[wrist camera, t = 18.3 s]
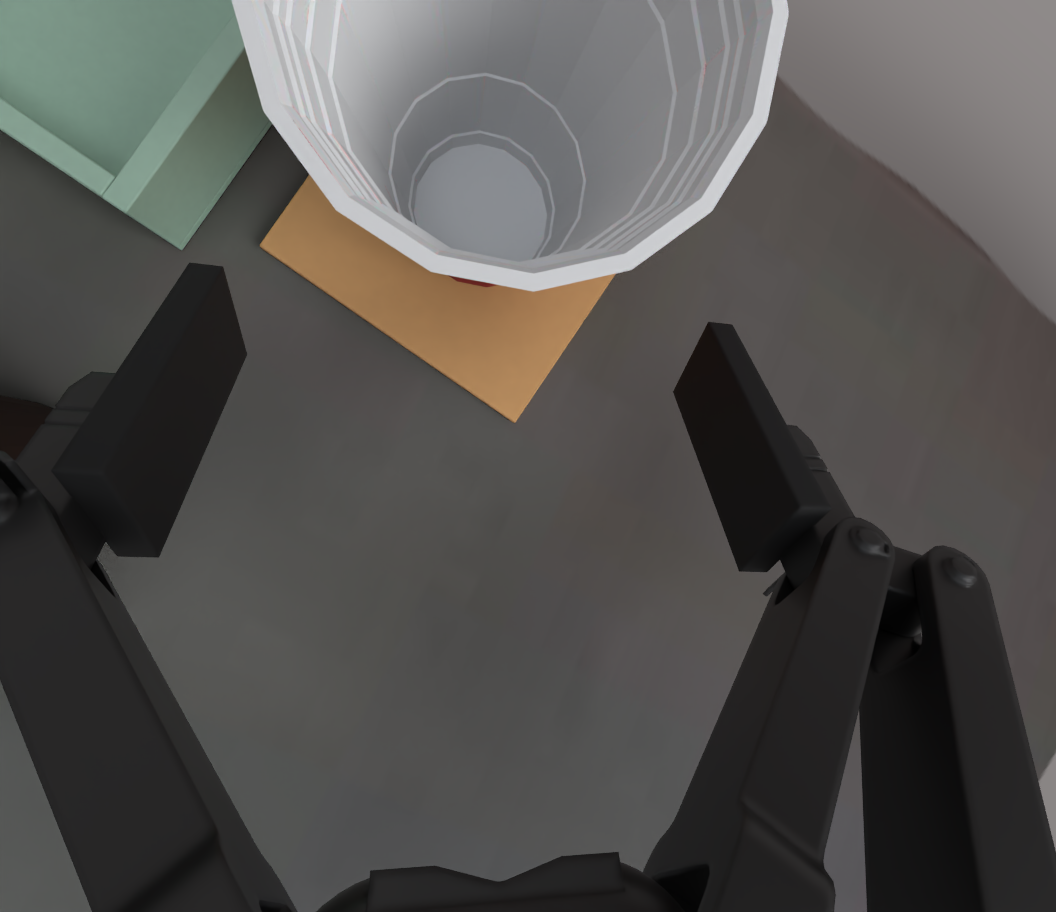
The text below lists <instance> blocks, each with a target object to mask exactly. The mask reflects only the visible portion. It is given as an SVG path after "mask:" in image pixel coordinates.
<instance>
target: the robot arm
mask: <svg viewBox="0 0 1056 912" xmlns="http://www.w3.org/2000/svg"><path fill="white" fill-rule="evenodd" d="M246 356H247V352H246V349H245V345H244V341H243V338H242V334H241V330H240V327H239V323H238V320H237V316H236V312H235V309H234V305H233V301H232V298H231V294H230V290H229V287H228V283H227V279H226V276H225V272H224V268H223V267H222V266H213V265H204V264H196V263H189V264H188V266H187V267H186V269H185V270H184V272H183V273H182V275H181V276H180V278H179V279H178V281H177V282H176V284H175V285H174V287H173V288H172V290H171V291H170V293H169V294H168V296H167V297H166V299H165V300H164V302H163V303H162V305H161V306H160V308H159V309H158V311H157V312H156V314H155V315H154V317H153V318H152V320H151V321H150V323H149V324H148V326H147V327H146V329H145V330H144V332H143V333H142V335H141V336H140V338H139V339H138V341H137V342H136V344H135V345H134V347H133V348H132V350H131V351H130V353H129V354H128V356H127V357H126V359H125V360H124V362H123V363H122V365H121V366H120V368H119V369H118V371H117V372H116V373H104V372H90V373H89V374H87V375H86V376H85V377H83V378H82V379H80V380H79V381H77V382H76V383H74V384H73V385H71V386H70V387H69V388H68V389H67V390H66V392H65V393H64V394H63V396H62V397H61V398H60V400H59V401H58V403H57V404H56V405H55V406H56V409H52V411H51V412H50V413H49V415H48V416H47V417H46V419H45V420H44V421H45V424H41V426H40V427H39V428H38V430H37V431H36V432H35V434H34V435H33V437H32V438H31V439H30V441H29V442H28V443H27V445H26V446H25V447H24V449H23V450H22V451H21V453H20V454H19V456H18V457H17V458H16V460H15V461H14V460H13V459H12V458H11V457H10V456H9V455H8V454H7V453H6V452H4V451H0V680H1V683H2V685H3V688H4V690H5V693H6V696H7V698H8V701H9V703H10V706H11V708H12V711H13V713H14V716H15V718H16V721H17V723H18V726H19V728H20V731H21V733H22V736H23V738H24V741H25V743H26V746H27V748H28V751H29V754H30V756H31V759H32V761H33V764H34V766H35V769H36V771H37V774H38V776H39V779H40V781H41V784H42V786H43V789H44V791H45V794H46V796H47V799H48V801H49V804H50V806H51V809H52V811H53V814H54V817H55V819H56V822H57V824H58V827H59V829H60V832H61V834H62V837H63V839H64V842H65V844H66V847H67V849H68V852H69V854H70V857H71V859H72V862H73V864H74V867H75V869H76V872H77V875H78V877H79V880H80V882H81V885H82V887H83V890H84V892H85V895H86V897H87V900H88V902H89V905H90V907H91V910H92V912H297V910H296V908H295V907H294V905H293V903H292V901H291V899H290V898H289V896H288V894H287V892H286V890H285V889H284V887H283V885H282V883H281V882H280V880H279V878H278V877H277V875H276V874H275V872H274V871H273V869H272V867H271V866H270V865H269V863H268V862H267V861H266V859H265V858H264V857H263V855H262V854H261V852H260V851H259V849H258V848H257V846H256V844H255V842H254V841H253V839H252V837H251V835H250V833H249V832H248V830H247V828H246V826H245V824H244V823H243V821H242V819H241V817H240V815H239V813H238V812H237V810H236V808H235V806H234V804H233V803H232V801H231V799H230V797H229V795H228V793H227V792H226V790H225V788H224V786H223V784H222V783H221V781H220V779H219V777H218V775H217V773H216V772H215V770H214V768H213V766H212V764H211V763H210V761H209V759H208V757H207V755H206V753H205V752H204V750H203V748H202V746H201V744H200V743H199V741H198V739H197V737H196V735H195V733H194V732H193V730H192V728H191V726H190V724H189V722H188V721H187V719H186V717H185V715H184V713H183V712H182V710H181V708H180V706H179V704H178V702H177V701H176V699H175V697H174V695H173V693H172V692H171V690H170V688H169V686H168V684H167V682H166V681H165V679H164V677H163V675H162V673H161V672H160V670H159V668H158V666H157V664H156V662H155V661H154V659H153V657H152V655H151V653H150V652H149V650H148V648H147V646H146V644H145V642H144V641H143V639H142V637H141V635H140V633H139V632H138V630H137V628H136V626H135V624H134V622H133V621H132V619H131V617H130V615H129V613H128V612H127V610H126V608H125V606H124V604H123V602H122V601H121V599H120V597H119V595H118V593H117V592H116V590H115V588H114V586H113V584H112V582H111V581H110V579H109V577H108V575H107V573H106V571H105V570H104V568H103V566H102V565H101V563H100V562H99V561H98V560H97V557H98V555H99V553H100V551H101V549H102V547H103V545H104V543H105V542H107V544H108V545H109V546H110V548H111V549H112V550H113V551H114V553H115V554H116V555H117V556H126V557H159V556H160V553H161V551H162V549H163V546H164V544H165V542H166V540H167V537H168V535H169V533H170V530H171V528H172V526H173V523H174V521H175V519H176V517H177V514H178V512H179V510H180V507H181V505H182V503H183V500H184V498H185V496H186V494H187V491H188V489H189V487H190V484H191V482H192V480H193V478H194V475H195V473H196V471H197V468H198V466H199V464H200V461H201V459H202V457H203V455H204V452H205V450H206V448H207V445H208V443H209V441H210V438H211V436H212V434H213V432H214V429H215V427H216V425H217V422H218V420H219V418H220V415H221V413H222V411H223V409H224V406H225V404H226V402H227V399H228V397H229V395H230V392H231V390H232V388H233V386H234V383H235V381H236V379H237V376H238V374H239V372H240V369H241V367H242V365H243V363H244V360H245V358H246ZM673 393H674V395H675V398H676V401H677V404H678V406H679V409H680V412H681V414H682V417H683V420H684V423H685V425H686V428H687V431H688V433H689V436H690V439H691V442H692V444H693V447H694V450H695V453H696V455H697V458H698V461H699V463H700V466H701V469H702V472H703V474H704V477H705V480H706V482H707V485H708V488H709V491H710V493H711V496H712V499H713V501H714V504H715V507H716V510H717V512H718V515H719V518H720V520H721V523H722V526H723V529H724V531H725V534H726V537H727V539H728V542H729V545H730V548H731V550H732V553H733V556H734V558H735V561H736V564H737V567H738V569H739V571H745V572H767V571H768V570H770V569H771V568H772V567H773V566H774V565H775V564H776V563H777V562H778V561H779V560H781V563H782V565H783V567H784V570H785V573H784V574H782V575H781V576H780V577H779V578H778V579H777V580H776V581H775V582H774V583H773V584H772V585H771V586H770V587H768V588H767V589H766V591H765V592H764V593H763V594H764V595H765V596H768V595H769V594H770V593H771V592H773V593H772V595H771V597H770V600H769V602H768V604H767V607H766V609H765V611H764V614H763V616H762V618H761V621H760V623H759V625H758V628H757V630H756V632H755V635H754V637H753V639H752V641H751V644H750V646H749V648H748V651H747V653H746V655H745V658H744V660H743V662H742V665H741V667H740V669H739V672H738V674H737V676H736V679H735V681H734V683H733V686H732V688H731V690H730V693H729V695H728V697H727V699H726V702H725V704H724V706H723V709H722V711H721V713H720V716H719V718H718V720H717V723H716V725H715V727H714V730H713V732H712V734H711V737H710V739H709V741H708V744H707V746H706V748H705V751H704V753H703V755H702V758H701V760H700V762H699V764H698V767H697V769H696V771H695V774H694V776H693V778H692V781H691V783H690V785H689V788H688V790H687V792H686V795H685V797H684V799H683V802H682V804H681V806H680V809H679V811H678V813H677V815H676V817H675V819H674V821H673V823H672V825H671V826H670V828H669V829H668V830H667V831H666V833H665V834H664V835H663V836H662V838H661V839H660V840H659V842H658V843H657V845H656V846H655V848H654V850H653V852H652V854H651V856H650V858H649V860H648V862H647V864H646V866H645V868H644V871H643V873H642V872H641V871H639V870H637V869H635V868H633V867H631V866H629V865H626V864H624V863H621V862H620V859H619V852H612V853H599V854H586V855H572V856H561V857H559V858H556V859H554V860H552V861H550V862H547V863H545V864H543V865H540V866H538V867H536V868H533V869H531V870H529V871H526V872H524V873H522V874H519V875H517V876H515V877H513V878H510V879H508V880H505V881H501V882H496V881H491V880H488V879H484V878H480V877H476V876H472V875H468V874H465V873H461V872H457V871H453V870H449V869H445V868H442V867H438V866H426V867H412V868H399V869H386V870H372V871H370V878H369V879H366V880H364V881H361V882H359V883H356V884H354V885H353V886H351V887H349V888H347V889H346V890H344V891H342V892H341V893H339V894H338V895H336V896H335V897H334V898H332V899H331V900H330V901H328V902H327V903H326V904H324V905H323V906H322V907H321V908H320V909H319V910H318V911H317V912H834V905H835V896H836V894H835V888H834V883H833V880H832V879H831V878H830V876H829V875H828V873H827V872H826V870H825V869H824V863H823V859H824V852H825V847H826V843H827V839H828V835H829V831H830V827H831V823H832V818H833V814H834V810H835V806H836V802H837V798H838V793H839V789H840V785H841V781H842V777H843V773H844V769H845V764H846V760H847V756H848V752H849V748H850V744H851V740H852V735H853V731H854V727H855V723H856V719H857V715H858V711H859V715H860V740H861V765H862V791H863V816H864V842H865V867H866V893H867V912H1056V851H1055V847H1054V843H1053V839H1052V835H1051V831H1050V827H1049V823H1048V819H1047V815H1046V811H1045V807H1044V803H1043V799H1042V795H1041V790H1040V787H1039V782H1038V778H1037V774H1036V770H1035V766H1034V762H1033V758H1032V754H1031V750H1030V746H1029V742H1028V738H1027V734H1026V730H1025V726H1024V722H1023V718H1022V714H1021V710H1020V706H1019V702H1018V698H1017V694H1016V689H1015V685H1014V681H1013V677H1012V673H1011V669H1010V665H1009V661H1008V657H1007V653H1006V649H1005V645H1004V641H1003V637H1002V633H1001V629H1000V625H999V621H998V617H997V613H996V609H995V605H994V601H993V597H992V593H991V589H990V585H989V582H988V580H987V577H986V575H985V573H984V572H983V571H982V570H981V568H980V567H979V566H978V565H977V563H975V562H974V561H973V560H972V559H971V558H970V557H968V556H967V555H966V554H964V553H962V552H960V551H958V550H956V549H955V548H951V547H947V546H935V547H933V548H932V549H931V550H929V551H928V552H926V553H925V554H924V555H919V554H916V553H913V552H910V551H907V550H904V549H901V548H898V547H895V546H893V545H892V543H891V541H890V539H889V538H888V537H887V536H886V535H885V534H884V532H883V531H882V530H880V529H879V528H878V527H876V526H875V525H874V524H872V523H870V522H868V521H866V520H864V519H861V518H856V517H855V516H854V514H853V513H852V511H851V509H850V507H849V506H848V504H847V502H846V500H845V499H844V497H843V495H842V493H841V492H840V490H839V488H838V486H837V485H836V483H835V481H834V479H833V477H832V476H831V474H830V472H827V467H826V465H825V463H824V462H823V460H822V459H820V455H819V453H818V451H817V449H816V448H815V446H814V444H813V442H812V441H811V440H810V439H809V438H808V437H807V436H806V435H805V434H804V433H803V432H802V431H801V430H800V429H799V428H798V427H797V426H793V425H786V423H785V421H784V419H783V417H782V416H781V414H780V412H779V410H778V408H777V406H776V405H775V403H774V401H773V399H772V397H771V395H770V393H769V392H768V390H767V388H766V386H765V384H764V382H763V381H762V379H761V377H760V375H759V373H758V371H757V369H756V368H755V366H754V364H753V362H752V360H751V358H750V357H749V355H748V353H747V351H746V349H745V347H744V345H743V344H742V342H741V340H740V338H739V336H738V334H737V333H736V331H735V329H734V327H733V325H731V324H722V323H713V322H708V324H707V326H706V328H705V330H704V332H703V334H702V336H701V338H700V340H699V342H698V344H697V345H696V347H695V349H694V351H693V353H692V355H691V357H690V359H689V361H688V363H687V365H686V367H685V369H684V371H683V373H682V375H681V377H680V379H679V381H678V383H677V385H676V387H675V389H674V391H673ZM921 632H922V637H921Z"/></svg>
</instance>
